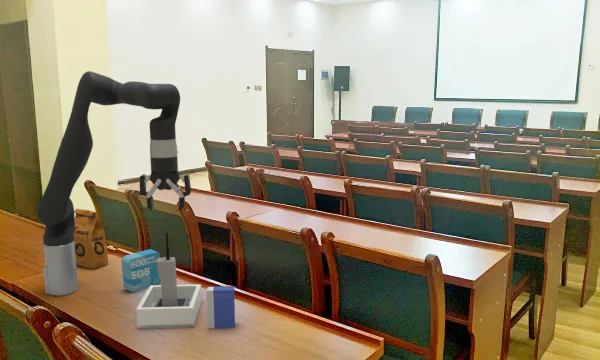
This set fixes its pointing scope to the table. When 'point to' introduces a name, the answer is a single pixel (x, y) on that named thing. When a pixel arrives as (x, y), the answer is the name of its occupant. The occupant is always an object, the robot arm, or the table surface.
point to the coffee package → (89, 240)
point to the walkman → (220, 307)
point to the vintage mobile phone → (168, 278)
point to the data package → (140, 270)
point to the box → (169, 308)
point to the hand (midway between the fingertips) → (166, 209)
